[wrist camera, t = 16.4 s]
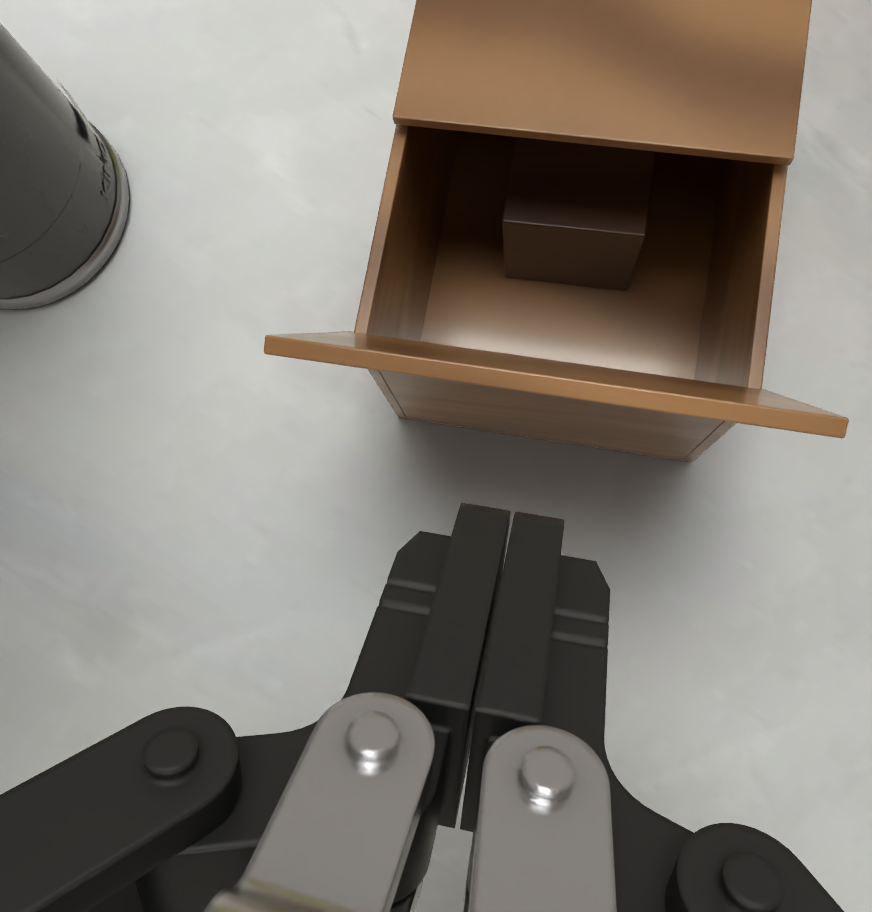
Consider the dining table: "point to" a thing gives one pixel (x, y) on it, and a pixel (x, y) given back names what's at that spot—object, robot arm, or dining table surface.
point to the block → (575, 212)
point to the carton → (604, 124)
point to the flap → (560, 379)
